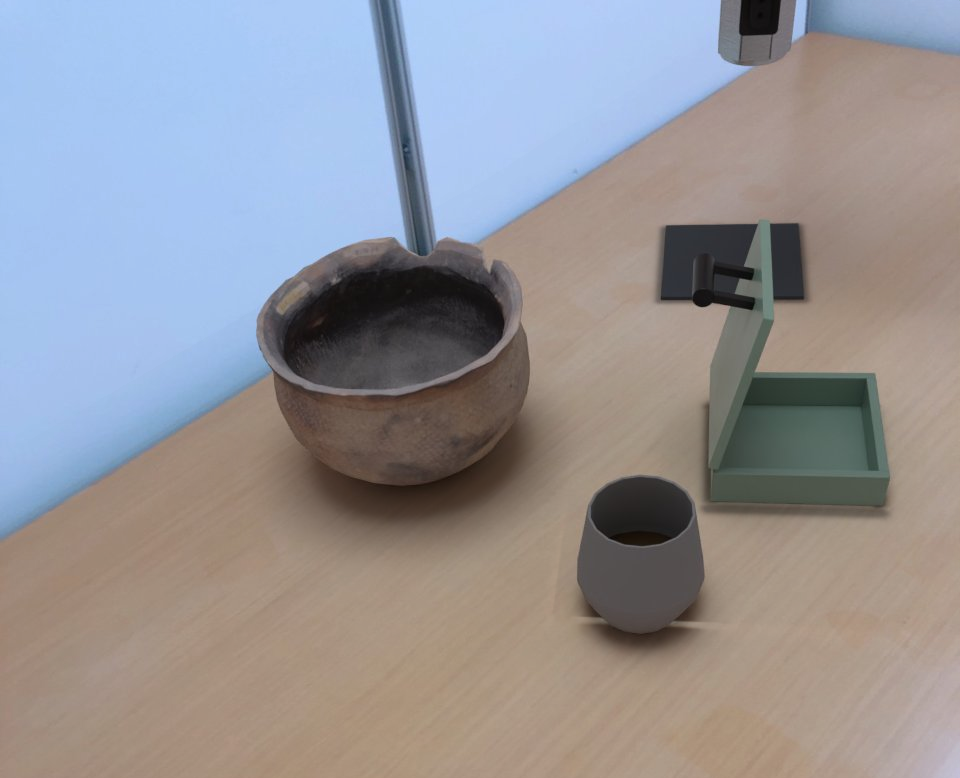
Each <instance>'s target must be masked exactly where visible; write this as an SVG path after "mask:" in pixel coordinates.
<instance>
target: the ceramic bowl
mask: <svg viewBox="0 0 960 778" xmlns="http://www.w3.org/2000/svg"><path fill="white" fill-rule="evenodd" d="M523 305H524V304H523V291H522V285H521V284H520V281H519V279H518V278H517V276H516V274H515V272H514V270H513V269H512V268H511V267H510V265H509V263H507V262H505V261H504V260H500V259H493V260H492V263H491V265H490V268H489V267H488V265H487V262H486V257H485V252H484V248H483V247H482V246H480V245H479V244H476V243H472V242H464V241H460V240H459V239H456V238H452V237H449V236H446V237H444V238H442V239H440V240H437V241H436V244H435V247H434V249H433V251H431V252H430V253H429V254H427V255H419V254H417V253H414V252H413V251H411V250H409V249H408V248H407V247H405V245H403V244H402V243H401V242H400V241H399V240H398V239H397V238H396V237H393V236H386V237H380V238H369V239H363V240H360V241H357V242H353V243H351V244H347V245H346V246H342V247H340V248H339V249H336V250H334V251H332V252H330V253H328V254H326V255H324V256H322V257H321V258H319V259H317V260H316V261H314V262H313V263H311V264H308V265H306V266H304V267H302V269H300V270H299V271H298V272H297V273H296V274H295V275H294V276H291V277H289V278H287V279H285V280H284V281H283V282H282V283H281V284H280V286H278V287H277V289H275V290H274V291H273V292H272V293H271V294H270V295H269V297H268V298H267V300H266V301H265V302H264V303H263V305H262V307H261V309H260V311H259V313H258V315H257V318H256V330H255V334H256V335H255V337H256V341H257V344H258V348H259V351H260V352H261V355H262V358H263V359H264V361H265V362H266V364H267V365H268V367H269V368H270V370H271V371H272V375H273V386H274V391H275V396H276V401H277V404H278V408H279V410H280V412H281V414H282V416H283V419H284V420H285V421H286V424H287V426H288V427H289V430H290V431H291V433H292V434H293V436H294V437H295V439H296V440H297V441H298V442H299V443H300V444H301V446H303V447H304V448H305V449H306V450H307V451H308V452H309V453H310V454H311V455H312V456H313V457H315V458H316V459H318V460H319V461H320V462H321V463H323V464H324V465H326V466H327V467H329V468H330V469H332V470H334V471H336V472H338V473H341V474H343V475H345V476H347V477H350V478H353V479H358V480H362V481H366V482H369V483H372V484H380V485H386V486H387V485H388V486H415V485H423V484H424V485H425V484H428V483H429V484H430V483H434V482H436V481H439V480H442V479H444V478H448V477H449V476H452V475H454V474H457V473H459V472H461V471H463V470H464V469H467V468H468V467H470V466H471V465H473V464H475V463H477V462H478V461H479V460H481V459H483V458H484V457H485V456H486V455H488V453H489V452H491V451H492V450H493V449H494V447H495V446H496V445H497V444H498V443H499V441H500V440H501V439H502V438H503V437H504V435H505V434H506V433H507V432H508V431H509V429H510V428H511V427H512V425H513V424H514V422H515V421H516V419H517V418H518V415H519V414H520V412H521V410H522V408H523V406H524V404H525V400H526V398H527V395H528V391H529V385H530V375H531V361H530V353H529V351H530V350H529V344H528V336H527V332H526V330H525V329H524V325H523V324H522V315H523Z"/></svg>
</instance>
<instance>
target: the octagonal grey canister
mask: <svg viewBox="0 0 960 778" xmlns="http://www.w3.org/2000/svg"><path fill="white" fill-rule="evenodd" d="M796 7H797V0H781V6H780V15H779V25H778V31H777V33H776V34H774V35H755V36H741V35H740V34H739V21H740V8H741V0H720V5H719V22H718V38H717V54H718V55H719V56H720V57H721V58H722V60H724V61H725V62H727V63H730V64H732V65H737V66H741V67H761V66H767V65H771V64H774V63H777V62H779V61H781V60H782V59H784V58H785V57H786V55H787V54H788V53H789V52H790V51H791V50H792V43H793V33H794V24H795V15H796Z"/></svg>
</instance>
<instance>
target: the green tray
mask: <svg viewBox="0 0 960 778" xmlns="http://www.w3.org/2000/svg"><path fill="white" fill-rule="evenodd" d="M890 478H891V473H890V467H889V460H888V454H887V446H886V438H885V432H884V424H883V416H882V411H881V403H880V396H879V387H878V381H877V375H876V372H807V371H806V372H805V371H804V372H802V371H801V372H798V371H797V372H795V371H794V372H793V371H791V372H789V371H788V372H787V371H786V372H785V371H784V372H782V371H781V372H779V371H776V372H775V371H755V373H754V376H753V378H752V381H751V383H750V386H749V389H748V391H747V394H746V397H745V399H744V402H743V405H742V407H741V410H740V413H739V415H738V418H737V421H736V423H735V426H734V428H733V431H732V434H731V436H730V439H729V442H728V444H727V447H726V450H725V452H724V455H723V458H722V460H721V463H720V466H719V468H718V470H716V469H711V468H710V498H709V499H710V502H712V503H739V504H740V503H741V504H773V505H775V504H777V505H779V504H780V505H813V506H814V505H815V506H817V505H818V506H856V507H857V506H858V507H884V505H885V501H886V496H887V492H888V488H889V483H890V480H891V479H890Z"/></svg>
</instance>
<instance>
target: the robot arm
mask: <svg viewBox="0 0 960 778" xmlns="http://www.w3.org/2000/svg"><path fill="white" fill-rule="evenodd" d="M780 6H781V0H741V8H740V21H739V34H740V35H741V36H755V35H774V34H776V33H777V31H778V25H779V15H780Z"/></svg>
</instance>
